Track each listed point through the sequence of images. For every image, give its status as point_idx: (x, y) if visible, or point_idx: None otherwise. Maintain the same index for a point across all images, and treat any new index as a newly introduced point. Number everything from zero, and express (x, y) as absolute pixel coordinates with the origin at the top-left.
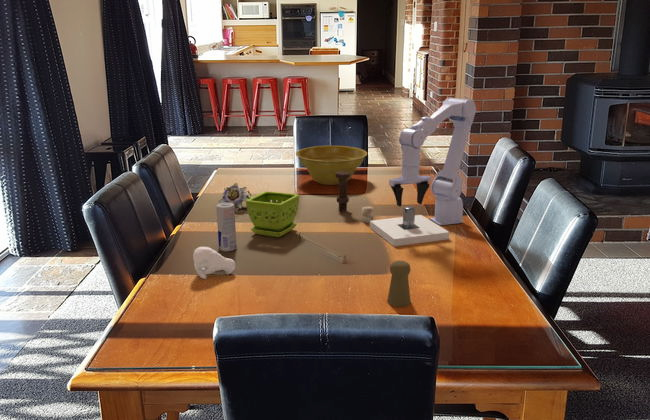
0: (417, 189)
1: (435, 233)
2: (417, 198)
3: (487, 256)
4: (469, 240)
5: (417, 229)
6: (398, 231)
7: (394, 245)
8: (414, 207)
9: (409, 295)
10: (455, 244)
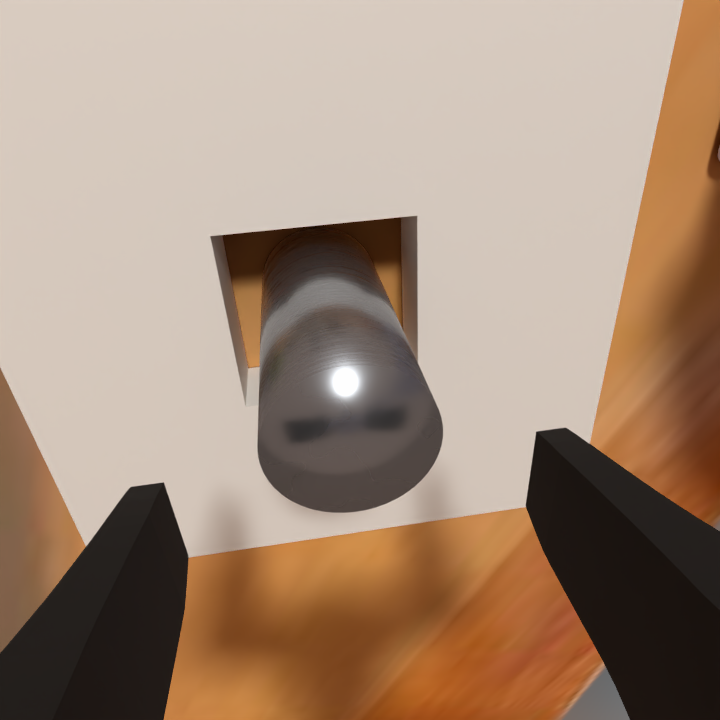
0: (715, 632)
1: (465, 510)
2: (574, 482)
3: (566, 658)
4: None
5: None
6: (175, 431)
7: None
8: (442, 435)
9: None
10: (530, 533)
